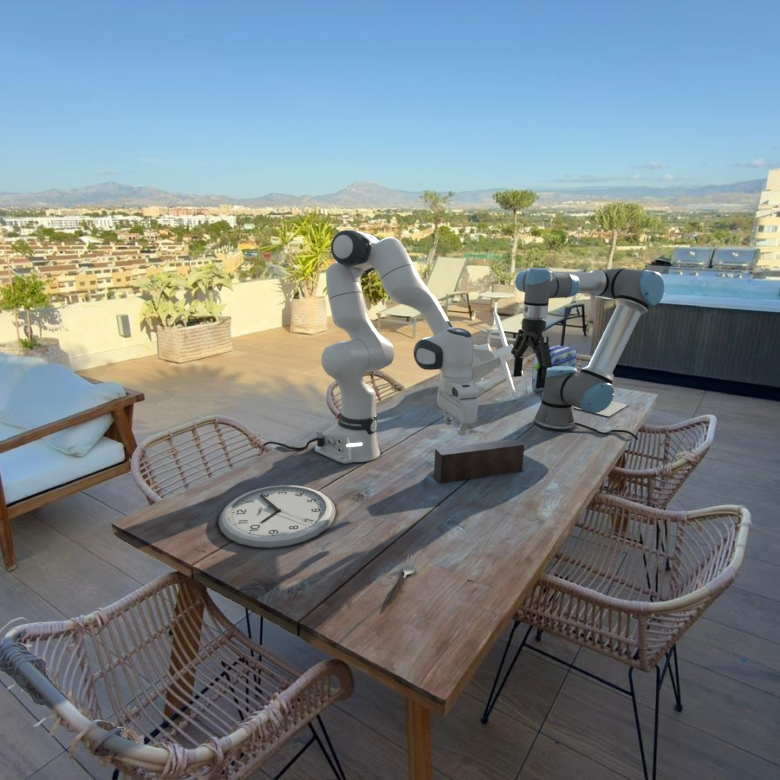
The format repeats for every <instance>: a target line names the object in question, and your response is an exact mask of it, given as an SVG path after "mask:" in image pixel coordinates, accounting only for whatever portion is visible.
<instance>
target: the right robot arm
mask: <svg viewBox="0 0 780 780" xmlns="http://www.w3.org/2000/svg"><path fill="white" fill-rule="evenodd" d="M514 285H515V288H516V289H517V290H518V291H519V292H522V293H524V297H523V298H524V299H523V308H522V310H523V311H522V317H523V318H522V321H521V329H518V331H517V336H516V339H515V341H514V344H513V348H512V351H511V354H513V355H514V357H515V360H513V375H512V377H514V378H519V376H521V375H522V371H523V363H524V354H525V352H526V351H527V349H528V348H529V347H530V348H531V349H532V350H533V352H534V353H535V356H536V358H537V361H538V364H539V367H538V370H537V380H536V388H543V390H542V393H541V402H540V405H539V407H538V410H537V411H536V413H535V416H534V424H535V425H536V426H537V427H539V428H542V429H544V430H549V431H556V432H567V431H572V430H574V429H575V428H576V426H578V427H581V428H583V429H584V428H585V429H587V430H590V431H594V432H595V433H596V434H599V435H601V436H603V435H605V436H608V435H610V434H611V433H625V434H628V435H630V436H632V437H633V438H634V439H635V440H639V438H638V436H637V435H636V433H635V434H634V433H633V432H631V431H630V430H625V429H615V428H614V429H610V430H608V431H606V432H605V431H600V430H598V429H596V428H593V427H591V426H588V425H586V424H582V423H579V422H576V418H575V417H576V416H575V413H574V407H577V408H580V409H582V410H581V411H584V412H588V411H589V412H588V413H593V414H596V413H598V412H601V411H603V410H604V409H606V408H607V407H608V406H609V404H610V403H611V401H613V399H614V396H615V394H614V393H615V388H614V386H613V383H614V380H613V377H612V374H613V372H614V370H615V369H616V366H617V365H618V362H619V360H620V358H621V356H622V354H623V352H624V350H625V348H626V346H627V343H628V342H629V340H630V337H631V335H632V334H633V332H634V330H635V327H636V325H637V323H638V321H639V319H640V317H641V316H642V315H645V314H647V313H648V311H649V309H650V307H654V306H656V305H658V304H660V302H661V301H662V299H663V297H664V293H665V282H664V278H663V276H662V275H661V274H660V272H658V271H653V270H649V269H634V268H623V267H617V268H606V269H605V268H603V269H593V270H591V271H552V269H551V268H544V267H531V268H528V269H527V270H526V269H525V270H524V269H523V270H521V271H519V272H518V273H517V275H516V276H515V283H514ZM577 294H589V295H590V296H593V297H602V298H606V299H611V300H613V301H614V303H615V306H616V307H615V308H614V310H613V313H612V315H611V317H610V319H609V321H608V323H607V325H606V327H605V330H604V331H603V333H602V335H601V338H600V340H599V342H598V344H597V345H596V346H597V347H596V348H595V350H594V351H593V354H592V356H591V358H590V360H589V362H588V364H587V366H584V367H582V368H581V369H580V371H578V369H577V367H576V366H575V367H569V366H555V367H552V362H551V356H550V350H549V348H550V346H549V345H550V344H549V341H550V339H549V336H547V335H546V336H543V332H545V331H546V330H547V322H548V321H547V318H548V315H549V314H548V313H549V301H550V299H567V298H572V297H574V296H576V295H577ZM515 350H516V351H515ZM542 364H543V365H542ZM580 409H579V410H580Z"/></svg>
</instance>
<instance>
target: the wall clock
mask: <svg viewBox="0 0 780 780" xmlns="http://www.w3.org/2000/svg"><path fill="white" fill-rule="evenodd" d="M335 516H336V507H335V503H334V502H333V501H332V500H331V499H330V497H328V496H327V495H325V494H324V493H322V492H321V491H318V490H316V489H313V488H310V487H306V486H301V485H292V484H291V485H289V484H288V485H286V484H282V485H271V486H270V485H269V486H266V487H260V488H257V489H253V490H251V491H247V492H245V493H243V494H241V495H240V496H237V497H235V498H234V499H232V500H231V501H230V502H229V503H228V504H227V505H226V506H225V507H224V508H223V510H222V511H221V513H220V514H219V517H218V518H219V519H218V527H219V529H220V531H221V533H222V534H223V535H224V536H225V537H226V538H227V539H228V540H230V541H233V542H235V543H237V544H239V545H243V546H248V547H252V548H268V549H273V548H282V547H288V546H293V545H298V544H300V543H304V542H306V541H308V540H311V539H313V538H315V537H318V536H319V535H320V534H323V532H324V531H326V530H328V528H329V527H330V526H331V524H332V523H333V522H334V520H335Z"/></svg>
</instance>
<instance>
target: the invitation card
mask: <svg viewBox="0 0 780 780" xmlns="http://www.w3.org/2000/svg"><path fill="white" fill-rule="evenodd" d="M628 406H629V404H627V403H623V402H618V401H614V400H612V401H611V403H610V404H609V406H608V407H607V408H606V409H604V410H603V411H601V412H598V413H595V414H596V415H600V416H604V417H608V418H609V417H611V416H613V415H614V414H616V413H617V412H619V411H621V410H623V409H624V408H626V407H628ZM573 409H575V410H581V411H583V410H582V409H580V408H577V407H575V406H573ZM587 413H590V412H589V411H587Z"/></svg>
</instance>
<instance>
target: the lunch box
mask: <svg viewBox="0 0 780 780" xmlns="http://www.w3.org/2000/svg"><path fill="white" fill-rule="evenodd" d="M549 350H550V356H551V362H552V367H555V366H569V367H575V368H576V364H577V363H576V362H577V348H576V347H571V346H565V345H553V346H549ZM542 365H543V364H542ZM538 367H539V364H538V361H537V358H536V355H535V356H534V358H533V365H532V376H531V377H532V378H531V390H532V391H533V392H537V393H541V394H542V390H543V388H536V380H537V370H538Z"/></svg>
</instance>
